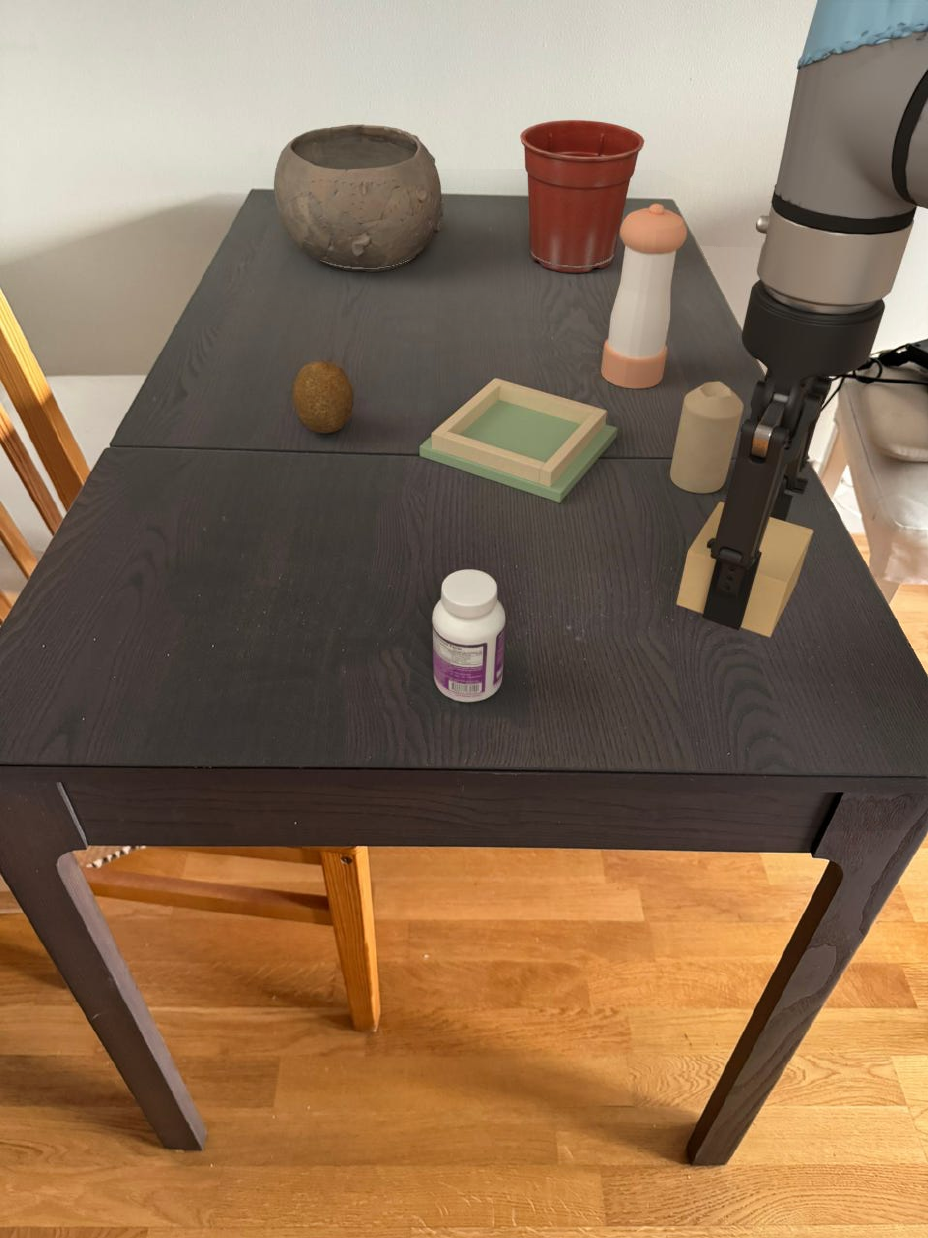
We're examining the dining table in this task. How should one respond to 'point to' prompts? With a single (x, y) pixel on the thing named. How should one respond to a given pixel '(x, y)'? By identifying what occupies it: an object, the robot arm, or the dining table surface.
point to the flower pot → (577, 190)
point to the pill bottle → (468, 637)
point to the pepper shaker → (643, 298)
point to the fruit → (323, 397)
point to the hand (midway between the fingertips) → (738, 590)
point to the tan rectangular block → (773, 575)
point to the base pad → (522, 439)
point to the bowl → (359, 195)
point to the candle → (706, 438)
